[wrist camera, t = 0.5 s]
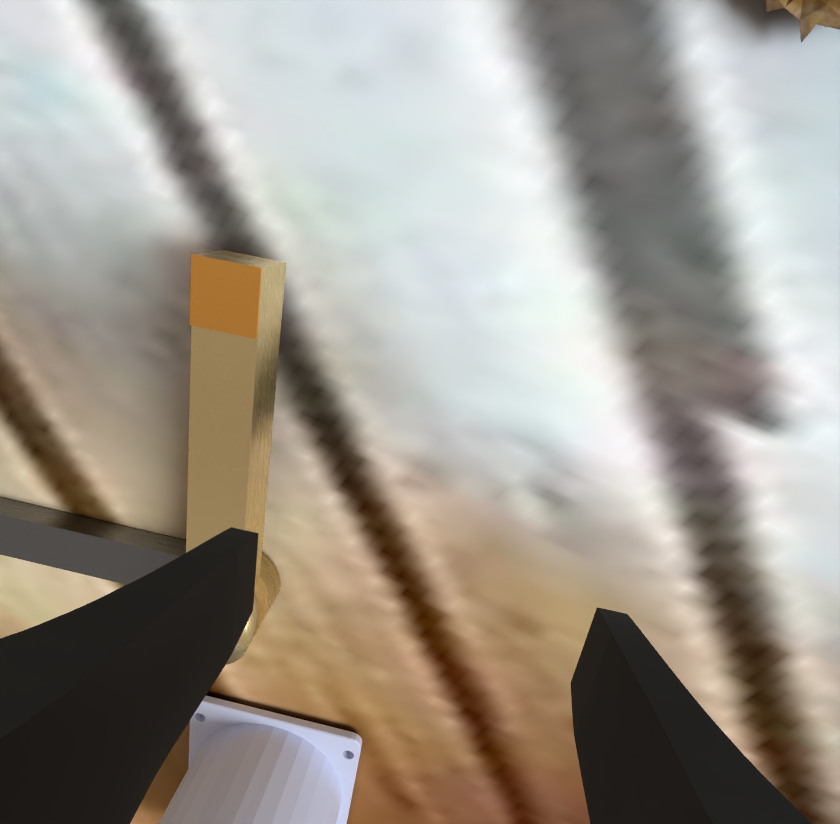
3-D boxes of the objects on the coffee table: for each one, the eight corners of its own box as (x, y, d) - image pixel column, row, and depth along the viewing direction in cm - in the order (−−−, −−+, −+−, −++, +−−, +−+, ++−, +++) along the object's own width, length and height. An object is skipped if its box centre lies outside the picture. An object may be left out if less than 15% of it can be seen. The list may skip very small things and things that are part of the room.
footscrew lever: (277, 615, 23) (245, 673, 20) (209, 598, 23) (167, 654, 20) (313, 262, 18) (277, 272, 15) (224, 244, 18) (171, 250, 15)
